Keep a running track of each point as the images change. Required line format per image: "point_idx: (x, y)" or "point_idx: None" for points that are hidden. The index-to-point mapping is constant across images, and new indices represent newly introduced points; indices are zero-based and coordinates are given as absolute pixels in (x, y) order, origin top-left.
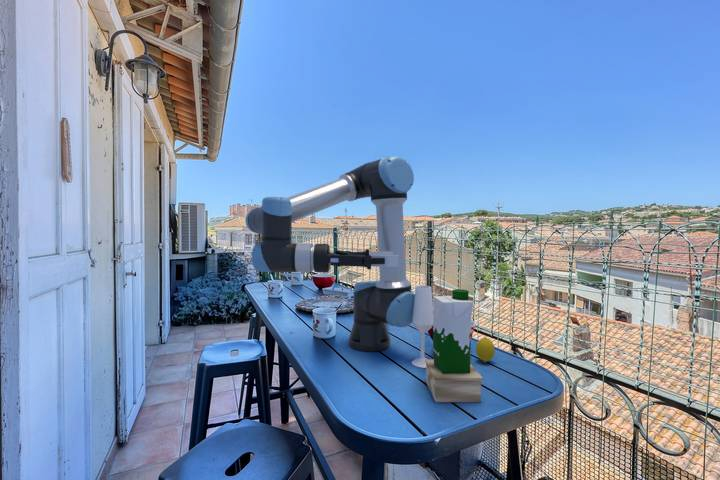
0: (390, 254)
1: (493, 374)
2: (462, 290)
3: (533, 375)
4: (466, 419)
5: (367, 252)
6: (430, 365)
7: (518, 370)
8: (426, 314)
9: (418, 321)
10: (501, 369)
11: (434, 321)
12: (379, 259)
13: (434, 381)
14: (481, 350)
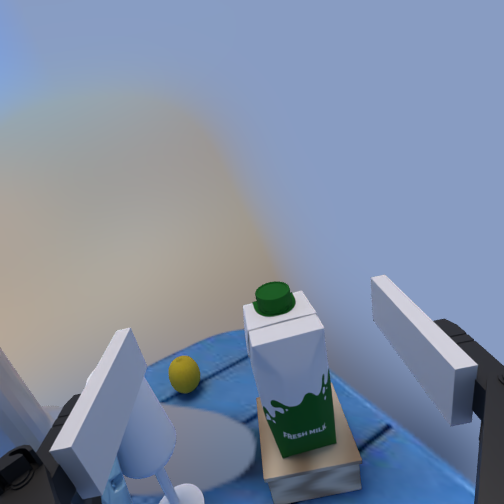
0: (131, 345)
1: (235, 385)
2: (264, 289)
3: (237, 344)
4: (398, 439)
5: (45, 472)
6: (298, 467)
7: (221, 356)
8: (165, 417)
9: (164, 452)
10: (218, 373)
11: (296, 386)
12: (470, 342)
13: (349, 468)
14: (192, 378)
